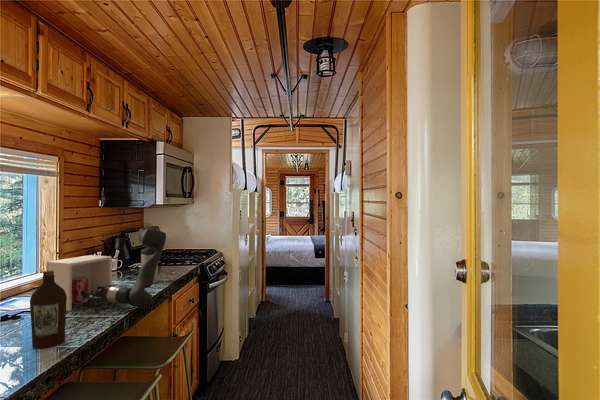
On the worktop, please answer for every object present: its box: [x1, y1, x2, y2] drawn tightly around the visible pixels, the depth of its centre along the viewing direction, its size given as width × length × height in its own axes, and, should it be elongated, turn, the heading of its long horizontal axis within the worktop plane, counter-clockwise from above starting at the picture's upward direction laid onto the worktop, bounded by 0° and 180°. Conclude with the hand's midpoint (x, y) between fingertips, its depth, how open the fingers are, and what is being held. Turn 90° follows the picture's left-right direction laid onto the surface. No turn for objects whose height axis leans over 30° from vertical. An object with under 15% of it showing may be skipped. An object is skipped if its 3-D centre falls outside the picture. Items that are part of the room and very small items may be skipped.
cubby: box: [46, 254, 113, 312], centre depth 180 cm, size 15×22×21 cm
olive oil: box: [29, 270, 67, 349], centre depth 129 cm, size 11×11×25 cm
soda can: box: [72, 277, 89, 305], centre depth 181 cm, size 7×7×12 cm
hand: (89, 290), depth 178 cm, fingers open, 8 cm apart
